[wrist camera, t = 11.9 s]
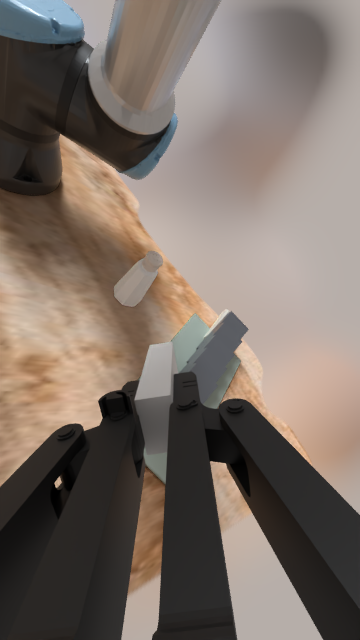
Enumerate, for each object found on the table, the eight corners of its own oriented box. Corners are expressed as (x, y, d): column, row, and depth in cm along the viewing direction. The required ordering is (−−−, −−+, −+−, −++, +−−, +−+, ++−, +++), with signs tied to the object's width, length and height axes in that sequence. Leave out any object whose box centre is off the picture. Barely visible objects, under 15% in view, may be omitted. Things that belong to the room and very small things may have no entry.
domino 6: (176, 437, 39) (218, 385, 42) (152, 413, 39) (196, 363, 42) (173, 435, 40) (214, 385, 44) (149, 412, 40) (193, 363, 43)
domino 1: (225, 353, 52) (242, 324, 59) (208, 334, 52) (226, 308, 59) (220, 355, 54) (237, 328, 60) (203, 338, 53) (222, 312, 60)
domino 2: (217, 366, 50) (248, 329, 53) (199, 347, 49) (231, 311, 53) (214, 366, 51) (244, 330, 54) (196, 348, 51) (227, 312, 54)
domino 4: (199, 398, 44) (234, 354, 48) (178, 377, 44) (215, 334, 47) (195, 397, 46) (230, 355, 49) (175, 376, 45) (212, 336, 49)
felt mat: (173, 491, 37) (175, 492, 37) (101, 422, 36) (102, 421, 36) (239, 362, 57) (241, 361, 56) (193, 314, 56) (195, 313, 55)
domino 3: (208, 381, 47) (242, 341, 50) (189, 361, 47) (224, 322, 50) (205, 381, 49) (238, 342, 52) (186, 361, 48) (220, 323, 51)
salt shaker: (118, 276, 49) (145, 237, 41) (144, 291, 51) (174, 256, 43) (108, 297, 46) (134, 258, 38) (135, 312, 48) (166, 278, 40)
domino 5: (188, 415, 42) (227, 368, 45) (166, 393, 41) (206, 347, 45) (185, 414, 43) (223, 368, 46) (163, 392, 43) (203, 348, 46)
